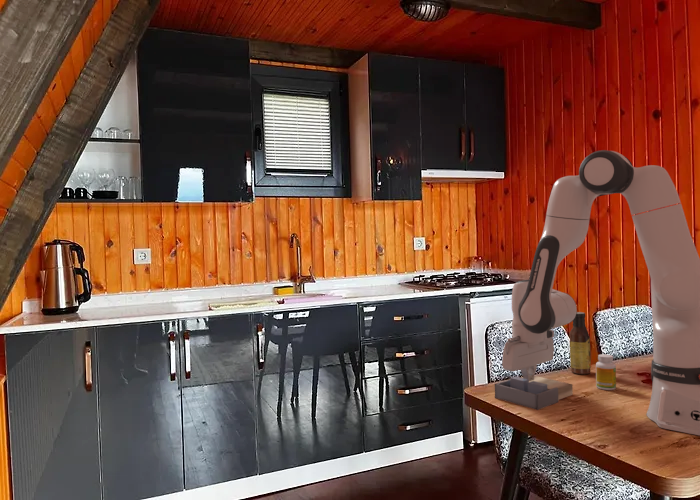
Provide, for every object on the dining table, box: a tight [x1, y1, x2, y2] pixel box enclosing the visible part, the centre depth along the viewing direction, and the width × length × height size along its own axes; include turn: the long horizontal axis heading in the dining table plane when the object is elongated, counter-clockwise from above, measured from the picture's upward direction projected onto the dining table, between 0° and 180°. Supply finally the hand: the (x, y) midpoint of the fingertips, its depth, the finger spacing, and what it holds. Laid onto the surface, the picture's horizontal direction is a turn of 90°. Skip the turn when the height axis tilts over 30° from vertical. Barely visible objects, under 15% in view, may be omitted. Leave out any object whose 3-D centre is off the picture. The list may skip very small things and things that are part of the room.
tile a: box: [528, 381, 547, 394], centre depth 150 cm, size 4×4×2 cm
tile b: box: [509, 376, 529, 392], centre depth 155 cm, size 4×4×2 cm
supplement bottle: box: [595, 353, 617, 391], centre depth 160 cm, size 5×5×10 cm
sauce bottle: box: [569, 311, 592, 375], centre depth 177 cm, size 7×6×20 cm
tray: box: [494, 378, 559, 411], centre depth 152 cm, size 14×10×4 cm
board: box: [529, 375, 574, 401], centre depth 157 cm, size 12×8×3 cm
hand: (528, 380), depth 157 cm, fingers closed
